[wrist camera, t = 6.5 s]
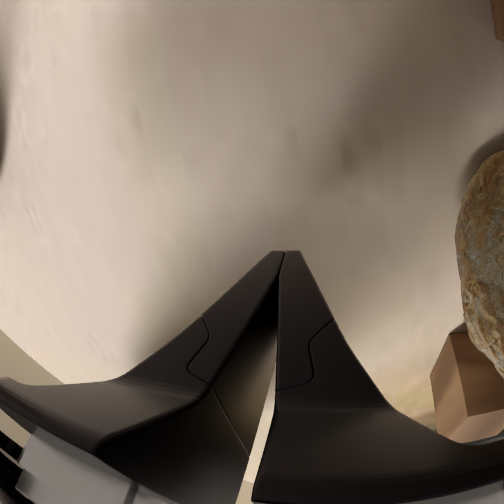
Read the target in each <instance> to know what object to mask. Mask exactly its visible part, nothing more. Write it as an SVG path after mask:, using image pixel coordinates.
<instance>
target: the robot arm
mask: <svg viewBox="0 0 504 504" xmlns="http://www.w3.org/2000/svg"><path fill="white" fill-rule="evenodd" d="M201 316H202V317H201ZM201 316H200V317H198V318H197V319H196V320H195V321H194V322H193V323H192V324H191V325H189V326H188V327H187V328H186V329H185V330H184V331H182V332H181V333H180V334H179V335H178V336H176V337H175V338H174V339H173V340H171V341H170V342H169V343H167V344H166V345H165V346H163V347H162V348H161V349H159V350H158V351H157V352H155V353H154V354H152V355H151V356H150V357H148V358H147V359H145V360H144V361H143V362H141V363H140V364H139V365H137V366H136V367H134V368H133V369H132V370H130V371H129V372H127V373H126V374H124V375H122V376H120V377H118V378H115V379H112V380H108V381H103V382H92V383H80V384H66V385H47V386H33V385H26V384H22V383H19V382H17V381H15V380H13V379H11V378H9V377H3V378H0V408H1V409H2V410H3V411H4V412H5V413H6V414H7V415H8V416H10V417H11V418H12V419H13V420H15V421H16V422H17V423H18V424H19V425H20V426H22V427H23V428H24V429H25V430H27V431H28V432H29V433H30V436H29V438H28V440H27V442H26V444H25V446H24V448H23V447H21V446H20V445H18V444H17V443H16V442H14V441H13V440H12V439H10V438H9V437H8V436H7V435H5V434H4V433H3V432H1V431H0V504H235V503H236V500H237V497H238V494H239V490H240V487H241V484H242V481H243V477H244V474H245V471H246V468H247V464H248V461H249V456H250V454H251V450H252V447H253V443H254V440H255V436H256V433H257V429H258V425H259V422H260V418H261V415H262V411H263V407H264V403H265V400H266V396H267V392H268V388H269V384H270V380H271V376H272V373H273V369H274V365H275V361H276V386H275V392H276V393H275V405H274V414H273V418H272V422H271V425H270V429H269V433H268V437H267V440H266V444H265V448H264V451H263V455H262V458H261V462H260V465H259V469H258V472H257V476H256V479H255V482H254V486H253V491H252V497H251V501H252V502H253V503H254V504H504V439H502V440H498V441H495V442H491V443H487V444H481V445H467V444H462V443H458V442H455V441H453V440H450V439H448V438H447V437H445V436H443V435H441V434H439V433H437V432H435V431H433V430H431V429H429V428H428V427H426V426H424V425H422V424H420V423H418V422H417V421H415V420H413V419H411V418H409V417H408V416H406V415H404V414H402V413H400V412H399V411H397V410H396V409H395V408H394V407H393V406H392V405H391V404H389V402H388V401H387V400H386V399H385V398H384V396H383V395H382V394H381V392H380V391H379V389H378V388H377V386H376V385H375V383H374V382H373V381H372V379H371V378H370V376H369V375H368V373H367V372H366V371H365V369H364V368H363V366H362V365H361V363H360V362H359V360H358V359H357V358H356V356H355V354H354V353H353V351H352V350H351V348H350V347H349V345H348V344H347V342H346V340H345V338H344V336H343V334H342V333H341V331H340V329H339V327H338V325H337V323H336V321H335V319H334V317H333V315H332V313H331V311H330V309H329V307H328V305H327V303H326V301H325V299H324V297H323V295H322V293H321V291H320V289H319V287H318V285H317V283H316V281H315V279H314V277H313V275H312V273H311V271H310V269H309V267H308V266H307V264H306V262H305V260H304V258H303V256H302V254H301V252H300V251H286V252H284V251H271V252H269V253H268V254H267V255H266V256H265V257H264V258H263V259H262V260H261V261H260V262H259V263H258V264H256V265H255V266H254V267H253V268H252V269H251V270H250V271H249V272H248V273H247V274H246V275H245V276H243V277H242V278H241V279H240V280H239V281H238V282H237V283H236V284H235V285H234V286H233V287H231V288H230V289H229V290H228V291H227V292H226V293H225V294H224V295H223V296H222V297H220V298H219V299H218V300H217V301H216V302H215V303H214V304H213V305H212V306H211V307H210V308H208V309H207V310H206V311H205V312H204V313H203V314H202V315H201ZM276 356H277V359H276Z"/></svg>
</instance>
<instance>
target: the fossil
mask: <svg viewBox="0 0 504 504" xmlns="http://www.w3.org/2000/svg"><path fill="white" fill-rule="evenodd" d="M455 244H456V252H457V261H458V269H459V275H460V279H461V295H462V304H463V310H464V314H463V315H464V319H465V322H466V325H467V329H468V334H469V338H470V339H471V341H472V342H473V344H474V345H475V346H476V347H477V348H478V350H480V351H481V352H483V353H485V355H486V356H487V357H488V358H489V359H490V360H491V361H492V362H493V363H494V366H495V368H496V370H497V371H498V372H499V373H500V375H501V376H502V377H503V378H504V149H503V150H502V151H500V152H497V153H495V154H492V155H491V156H490V157H489V158H488V159H486V160H485V161H483V163H482V164H481V166H480V168H479V170H478V171H477V172H476V173H475V175H474V176H473V177H472V178H471V179H470V181H469V182H468V183H467V187H466V193H465V195H464V197H463V199H462V204H461V209H460V212H459V215H458V220H457V225H456V232H455Z"/></svg>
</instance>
